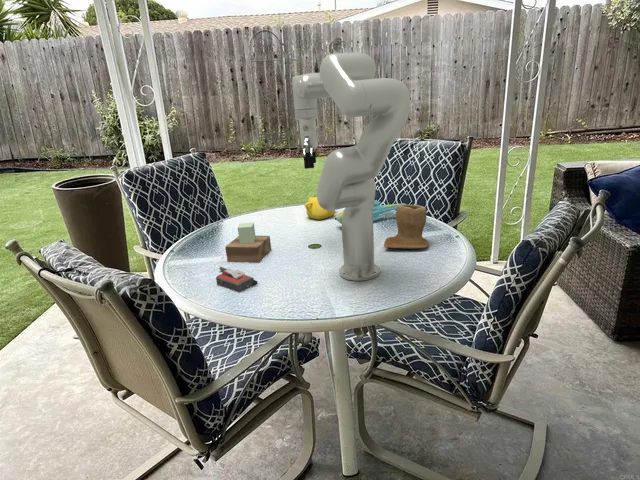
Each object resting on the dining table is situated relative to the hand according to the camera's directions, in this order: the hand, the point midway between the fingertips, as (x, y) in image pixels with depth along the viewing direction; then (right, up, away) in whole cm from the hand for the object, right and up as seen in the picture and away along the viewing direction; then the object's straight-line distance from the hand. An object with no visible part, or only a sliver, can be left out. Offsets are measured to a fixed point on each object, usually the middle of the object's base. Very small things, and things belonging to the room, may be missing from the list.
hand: (310, 165), depth 153 cm
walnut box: (-22, -32, +6) cm, 39 cm away
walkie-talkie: (-25, -39, -13) cm, 48 cm away
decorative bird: (+23, -20, +29) cm, 43 cm away
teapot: (+4, -16, +46) cm, 49 cm away
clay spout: (+34, -28, +5) cm, 45 cm away
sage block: (-22, -26, +4) cm, 35 cm away
